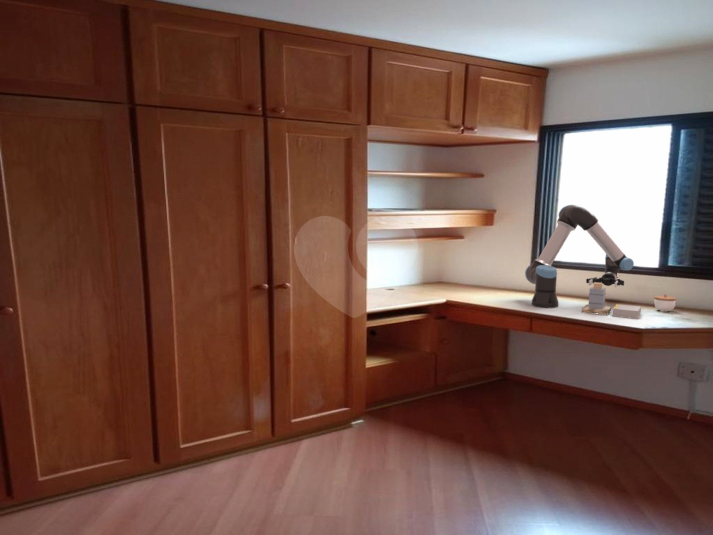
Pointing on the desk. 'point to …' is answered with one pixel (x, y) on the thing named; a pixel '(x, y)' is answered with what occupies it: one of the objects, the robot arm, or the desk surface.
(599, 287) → the parcel
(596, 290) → the grey stacked container
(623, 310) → the dock
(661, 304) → the lidded jar
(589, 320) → the desk surface
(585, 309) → the pallet
